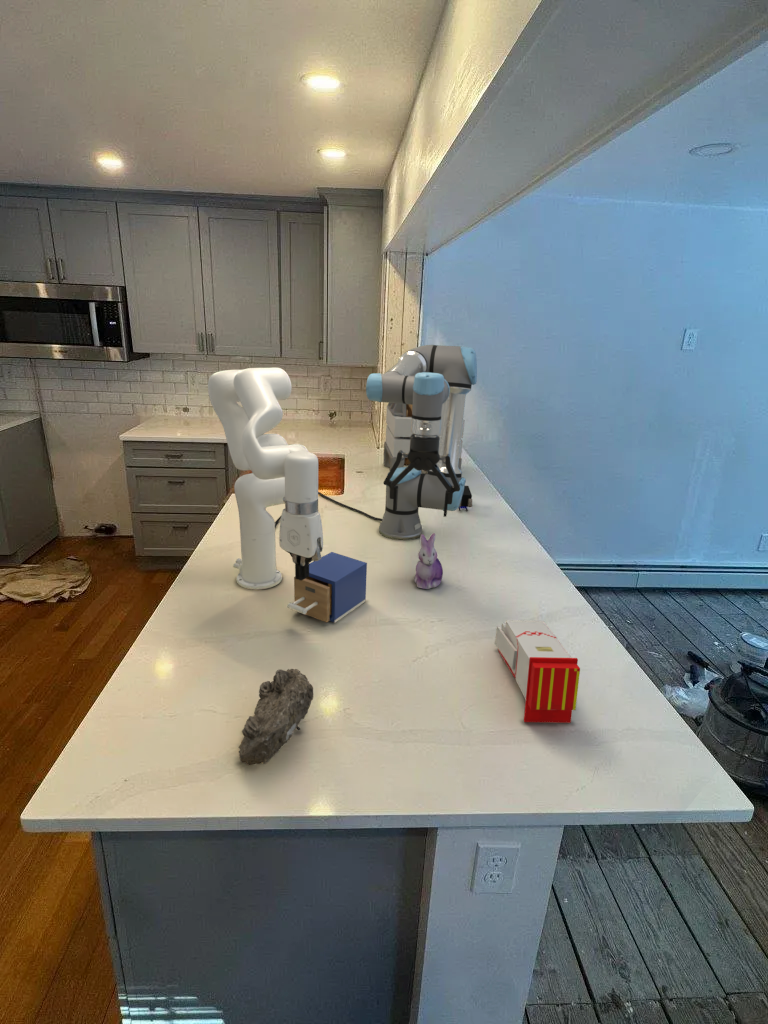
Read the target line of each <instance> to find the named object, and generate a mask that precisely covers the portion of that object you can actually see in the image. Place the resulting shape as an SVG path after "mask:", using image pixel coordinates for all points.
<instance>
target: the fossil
mask: <svg viewBox="0 0 768 1024" xmlns="http://www.w3.org/2000/svg"><path fill="white" fill-rule="evenodd" d="M258 697H259V699H258V701H257V704H256V706H255V708H254V711H253V714H254V716H252V715H249V716H248V718H247V719H246V721H245V724H244V727H243V729H242V730H241V732H242V735H243V737H242V740H241V742H240V745H238V749H239V750H238V756H239V761H240V763H245V764H246V765H247V766H254V765H260V764H262V765H266V764H268V762H270V760H271V759H272V758H273V757H275V755H276V754H278V753H279V752H280V750H281V749H282V747H284V746H285V744H287V743H288V742H289V741H290V740H291V739H292V737H293V734H294V732H295V731H296V730H297V731H301V728H300V727H299V724H301V723H300V722H301V721H302V720H304V719H305V717H306V716H307V714H308V712H309V709H310V707H311V704H312V701H313V700H314V686H313V685H312V684H311V683H310V681H309V678H308V677H307V676H306V674H304V673H302V672H301V670H299V669H298V668H290V669H289V668H288V669H287V670H284V669H279V668H278V669H277V670H276V671H275V674H274V675H273V678H272V681H270V680H266V681H263V682H262V683H261V684H260V685H259V690H258Z"/></svg>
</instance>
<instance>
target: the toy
mask: <svg viewBox="0 0 768 1024" xmlns="http://www.w3.org/2000/svg"><path fill="white" fill-rule="evenodd" d="M494 645H495V647H496V648H497V651H498V653H499V654H500V656H501V658H502V660H503V661H504V663H505V665H506V666H507V668H508V670H509V671H510V673H511V675H512V676H513V678H514V679H515V682H516V684H517V686H518V688H519V690H520V692H521V693H522V695H523V697H524V699H525V701H524V703H525V705H524V712H523V713H524V714H523V722H524V723H550V724H551V723H552V724H553V723H554V724H556V723H557V724H558V723H559V724H561V723H562V724H571V723H572V717H573V716H572V715H573V711H576V708H577V699H578V692H579V682H580V674H581V667H580V666H579V664H578V663H579V662H578V661H579V659H578V658H577V657H572V656H571V655H570V653H569V652H568V651H567V649H566V648H565V647H564V645H563V644H562V643H561V641H560V639H558V637H556V635H555V634H554V632H553V631H552V630H551V628H550V626H549V625H547V623H546V622H545V621H544V620H517V619H516V620H513V619H512V620H511V619H510V620H509V619H506V620H505V622H501V627H500V626H499V625H497V626H496V628H495V637H494Z"/></svg>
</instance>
